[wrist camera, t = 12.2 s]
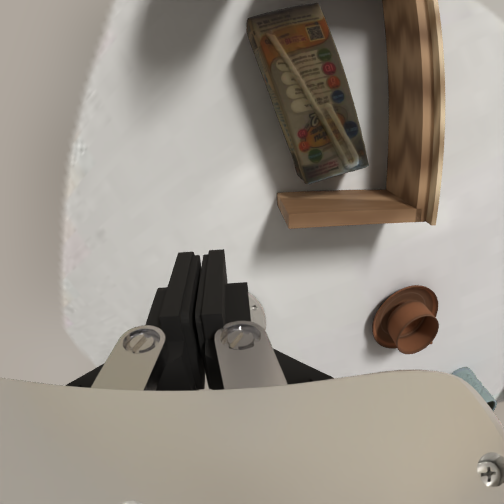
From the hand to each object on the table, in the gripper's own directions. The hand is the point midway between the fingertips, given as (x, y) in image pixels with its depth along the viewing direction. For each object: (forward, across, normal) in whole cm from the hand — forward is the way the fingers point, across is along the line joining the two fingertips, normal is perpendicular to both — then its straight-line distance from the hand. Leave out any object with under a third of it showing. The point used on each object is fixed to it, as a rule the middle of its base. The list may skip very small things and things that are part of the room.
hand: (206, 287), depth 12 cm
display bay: (+27, -14, -9) cm, 32 cm away
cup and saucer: (+28, -26, +24) cm, 45 cm away
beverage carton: (+28, -10, -8) cm, 30 cm away
